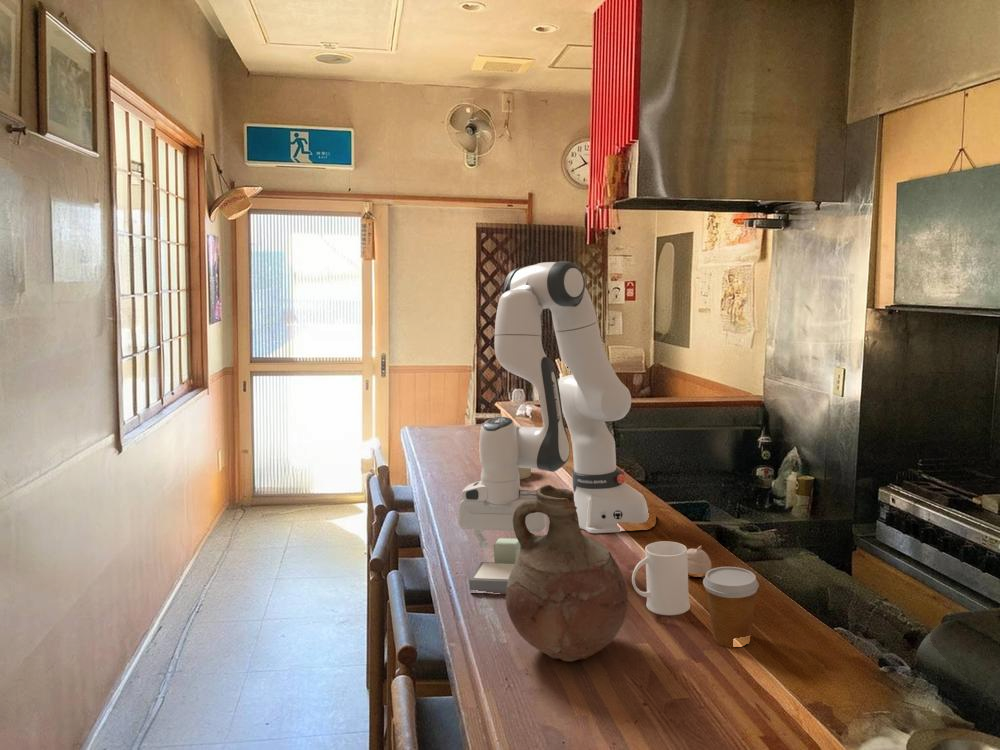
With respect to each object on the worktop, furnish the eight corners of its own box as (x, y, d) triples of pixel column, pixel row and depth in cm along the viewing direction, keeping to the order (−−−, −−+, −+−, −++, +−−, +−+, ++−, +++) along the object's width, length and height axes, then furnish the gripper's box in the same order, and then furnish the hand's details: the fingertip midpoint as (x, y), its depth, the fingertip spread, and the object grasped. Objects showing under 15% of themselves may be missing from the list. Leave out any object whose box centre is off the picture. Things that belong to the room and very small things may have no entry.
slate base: (525, 576, 174) (524, 562, 174) (515, 595, 165) (514, 581, 164) (481, 574, 177) (481, 561, 176) (470, 593, 167) (469, 579, 167)
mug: (640, 621, 149) (638, 561, 148) (624, 603, 158) (621, 546, 156) (697, 611, 152) (695, 552, 150) (678, 594, 160) (676, 538, 158)
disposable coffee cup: (752, 657, 134) (750, 590, 132) (697, 646, 139) (695, 581, 137) (765, 633, 142) (764, 570, 140) (713, 623, 147) (711, 562, 145)
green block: (521, 563, 182) (519, 538, 181) (516, 571, 177) (515, 546, 177) (500, 562, 183) (498, 538, 183) (495, 571, 179) (493, 546, 178)
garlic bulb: (678, 580, 167) (677, 544, 166) (682, 569, 173) (681, 534, 171) (710, 583, 164) (709, 546, 163) (713, 571, 170) (712, 536, 169)
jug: (629, 685, 127) (621, 508, 123) (499, 681, 131) (487, 509, 127) (630, 624, 148) (624, 471, 144) (518, 622, 152) (509, 473, 148)
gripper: (548, 486, 178) (550, 544, 180) (462, 484, 184) (465, 541, 185) (542, 494, 172) (545, 554, 174) (454, 492, 177) (458, 551, 179)
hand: (503, 547), depth 180 cm, fingers open, 8 cm apart
